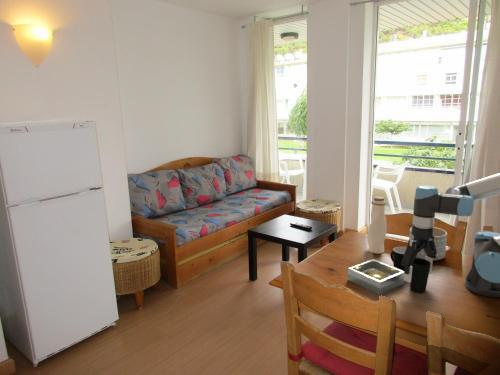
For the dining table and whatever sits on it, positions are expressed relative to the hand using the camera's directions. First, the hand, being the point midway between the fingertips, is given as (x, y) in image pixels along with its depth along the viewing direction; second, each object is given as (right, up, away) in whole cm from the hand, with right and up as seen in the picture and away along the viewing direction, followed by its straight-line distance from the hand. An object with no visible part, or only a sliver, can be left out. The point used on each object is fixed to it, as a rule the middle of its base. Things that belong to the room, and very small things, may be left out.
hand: (417, 276), depth 146 cm
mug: (+1, -2, +19) cm, 19 cm away
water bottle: (-2, +3, +42) cm, 43 cm away
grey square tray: (-14, -4, +8) cm, 17 cm away
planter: (+20, +2, +34) cm, 40 cm away
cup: (0, -6, +1) cm, 6 cm away
